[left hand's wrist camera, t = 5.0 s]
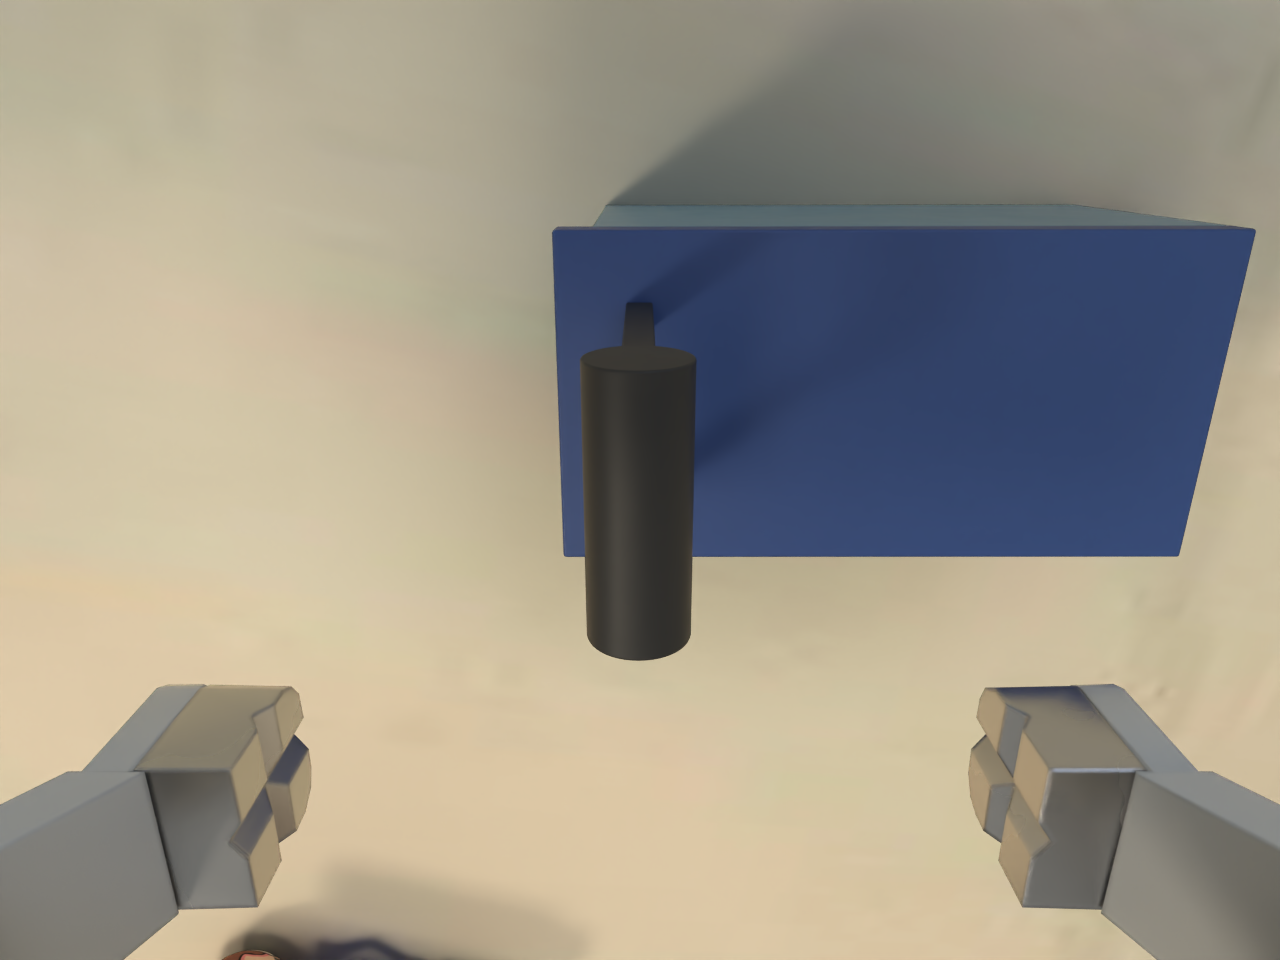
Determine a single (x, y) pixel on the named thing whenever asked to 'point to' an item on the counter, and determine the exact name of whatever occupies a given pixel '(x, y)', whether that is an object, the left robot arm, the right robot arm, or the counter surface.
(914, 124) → the counter surface
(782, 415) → the lid
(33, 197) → the counter surface
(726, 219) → the chest
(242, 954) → the figurine character
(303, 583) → the counter surface
